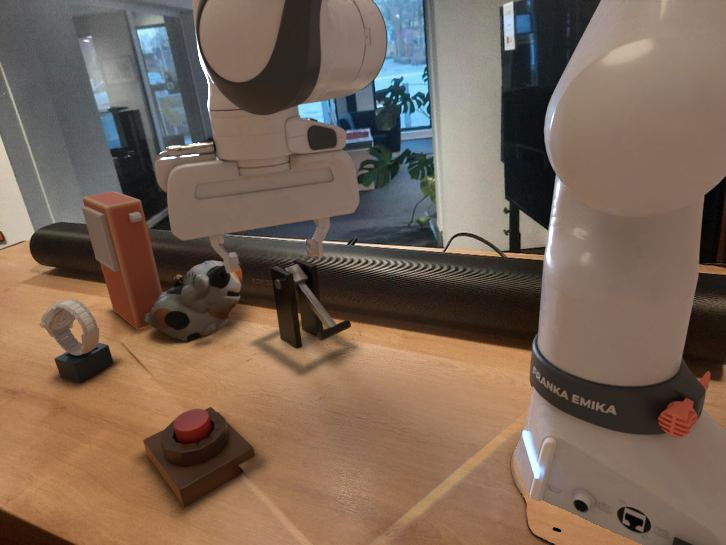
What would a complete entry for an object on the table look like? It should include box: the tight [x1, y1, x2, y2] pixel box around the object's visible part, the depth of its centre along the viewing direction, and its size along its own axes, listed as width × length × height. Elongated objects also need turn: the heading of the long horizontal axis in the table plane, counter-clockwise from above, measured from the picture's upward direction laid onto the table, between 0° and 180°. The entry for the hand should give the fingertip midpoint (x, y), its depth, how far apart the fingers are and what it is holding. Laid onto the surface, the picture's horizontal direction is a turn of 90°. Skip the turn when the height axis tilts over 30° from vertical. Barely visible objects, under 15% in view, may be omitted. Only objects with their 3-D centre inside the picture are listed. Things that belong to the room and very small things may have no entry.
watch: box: [39, 298, 115, 384], centre depth 70 cm, size 6×8×11 cm
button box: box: [142, 406, 256, 508], centre depth 53 cm, size 10×8×4 cm
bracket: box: [270, 258, 324, 350], centre depth 73 cm, size 12×9×13 cm
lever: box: [284, 264, 352, 342], centre depth 69 cm, size 12×5×2 cm
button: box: [173, 408, 212, 444], centre depth 52 cm, size 4×4×2 cm
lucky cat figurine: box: [143, 260, 243, 342], centre depth 81 cm, size 15×12×14 cm
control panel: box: [81, 190, 163, 330], centre depth 85 cm, size 21×7×15 cm
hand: (275, 262), depth 56 cm, fingers open, 8 cm apart
